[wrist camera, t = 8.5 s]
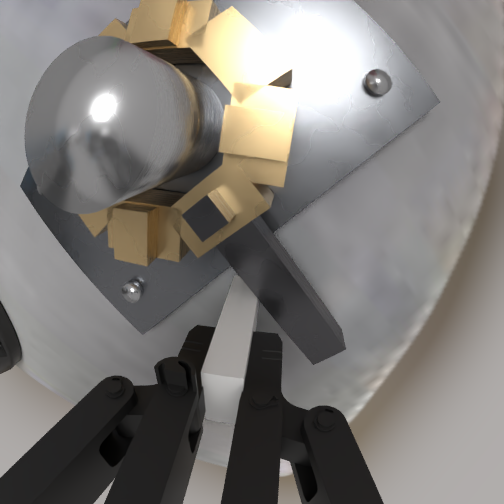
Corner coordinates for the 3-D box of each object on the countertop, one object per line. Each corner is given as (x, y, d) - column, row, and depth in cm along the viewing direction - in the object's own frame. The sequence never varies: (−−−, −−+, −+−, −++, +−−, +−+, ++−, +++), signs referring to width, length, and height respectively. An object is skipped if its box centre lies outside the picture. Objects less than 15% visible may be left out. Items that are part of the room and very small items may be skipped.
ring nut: (411, 276, 13) (440, 316, 10) (246, 364, 17) (236, 411, 13) (199, -12, 9) (171, -47, 5) (59, 128, 12) (12, 133, 9)
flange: (151, 322, 19) (91, 411, 11) (34, 181, 16) (-55, 215, 8) (427, 104, 11) (538, 90, 3) (253, -56, 8) (224, -144, 1)
